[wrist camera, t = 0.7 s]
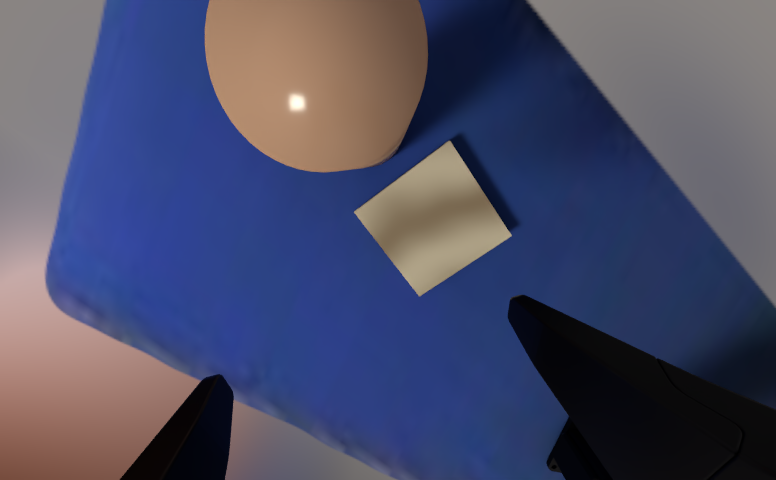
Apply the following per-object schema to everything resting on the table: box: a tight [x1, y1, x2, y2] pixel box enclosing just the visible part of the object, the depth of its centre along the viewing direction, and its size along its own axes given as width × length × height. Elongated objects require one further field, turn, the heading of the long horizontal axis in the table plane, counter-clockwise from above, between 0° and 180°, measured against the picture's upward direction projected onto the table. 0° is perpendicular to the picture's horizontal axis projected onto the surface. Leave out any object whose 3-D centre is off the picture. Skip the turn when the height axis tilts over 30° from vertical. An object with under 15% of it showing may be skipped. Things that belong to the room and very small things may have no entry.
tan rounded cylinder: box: [205, 0, 428, 172], centre depth 13 cm, size 5×5×13 cm
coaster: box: [354, 141, 512, 296], centre depth 20 cm, size 8×8×1 cm
